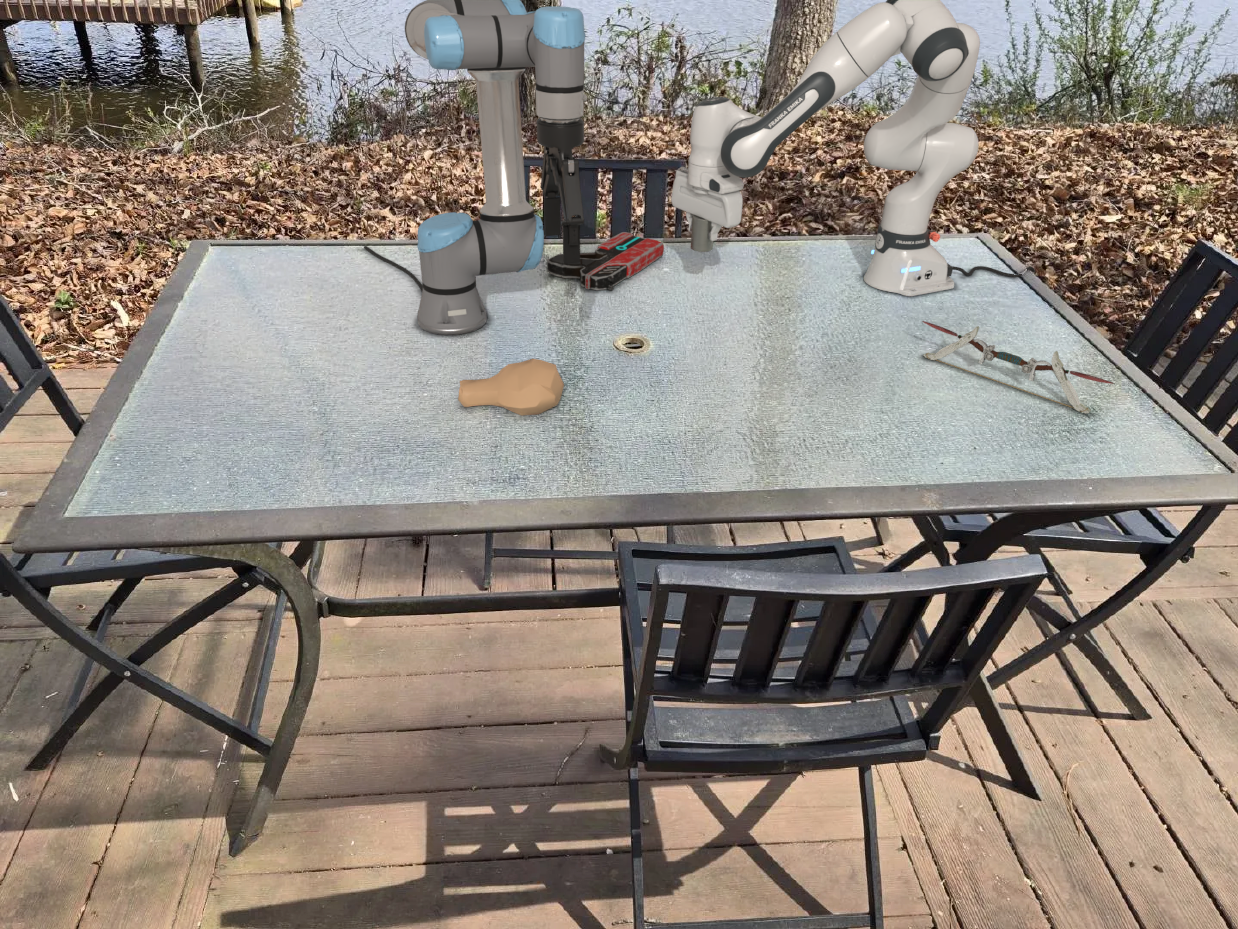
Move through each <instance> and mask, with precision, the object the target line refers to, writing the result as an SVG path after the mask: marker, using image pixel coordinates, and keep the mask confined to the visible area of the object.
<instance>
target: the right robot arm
mask: <svg viewBox="0 0 1238 929" xmlns="http://www.w3.org/2000/svg"><path fill="white" fill-rule="evenodd" d="M980 47H981V40H980V36H979V33H978V32H977V30H976V29H975V28H974V27H972V26H971V25H969V24H967V23H962V22H957V21H956V19H955V17H954V15H953V14H952V12H951V10H949V8H947V6H946V5H945V4H944V3H943V1H942V0H886V1H883V2H878V3H875V4H874V5H872V6H870V7H868V8H867V9H865V10H864V11H862V12H860V13H859V14H857V15H856V16H855V17H853V18H852V19H851V20H849V21H848V22H846V23H845V24H844V25H843V26H841V27H840V29H838V30H837V31H835V33H833V34H832V35H831V36H830V37H829V38H828V39H827V40H825V42H824V43H823V44H822V45H821V46H820V47H819V48H818V50H817V51H816V52H815V53H814V55H813V56H812V58H811V59H810V60H809V62H808V64H807V66H806V68H805V70H804V72H803V73H802V75H801V77H800V79H799V80H798V82H797V83H796V85H795V86H794V88H793V89H791V91H789V93H788V94H787V95H786V96H785V97H784V98H782V99H781V100H780V101H779V102H778V103H777V104H775V106H774V107H773V108H771V109H770V110H769V111H768V112H766V114H764V115H763V116H760V115H756V114H754V113H751V112H748V111H747V110H744V109H743V108H741V107H740V106H739V105H736V104H735V103H734V102H733V101H732V100H731V99H730V98H728V97H725V96H723V97H722V96H714V97H708V98H706V99H703V100H701V101H700V102H699V103H698V104H696V106H695V107H694V109H693V113H692V118H691V126H690V133H689V134H690V135H689V143H690V154H689V157H688V167H685V166H680V167H679V168H678V169H677V170H676V171H675V178H674V181H673V184H672V189H671V197H670V202H671V205H672V207H673V208H675V209H679V210H681V211H684V212H686V213H685V218H686V221H687V223H688V232H689V233H692V219H693V215H696V216H698V217H701V218H703V219H706V220H708V221H711V222H712V226H713V229H712V230H711V232H708V239H709V240H711V241H713V242H714V241H717V240H718V238H719V237H718V235H719V232H720V231H721V229H722V228H726V229H731V228H734V227H738V226H739V225H740V223H741V221H742V215H743V195H742V192H741V191H742V190H743V189H744V184H745V183H744V180H743V179H746V178H753V177H755V176H756V175H759V174H760V173H762V171H763V170H764V169H765V168H766V166H767V165H768V163H769V161H770V159H771V156H772V155H773V154H774V151H775V150H776V149H777V147H778V146H780V144H781V143H783V141H785V140H786V139H787V138H788V137H789V136H791V135H792V134H793V133H794V132H795V131H796V130H798V129H799V128H800V127H801V126H802V125H803V124H804V123H805V122H807V121H808V120H809V119H810V118H811V117H812V116H814V115H815V114H817V113H818V112H820V111H821V110H823V109H824V108H825V107H827V106H829V105H830V104H832V103H834V102H836V101H838V100H839V99H840V98H842V97H844V96H846V94H848V93H850V92H851V91H853V90H854V89H856V88H857V87H859V86H860V85H862V83H864V82H865V81H866V80H867V79H869V78H870V77H871V76H872V75H874V74H875V73H876V72H877V71H879V69H880V68H882V67H883V65H885V64H886V63H887V62H888V61H889V60H890V59H891V58H892V57H895V56H898V55H900V54H901V55H902V56H903V57H904V59H905V60H906V61H907V63H908V64H910V66H912V70H913V72H914V73H915V74H916V75H917V76H916V79H915V82H914V85H913V88H912V90H911V92H910V95H909V97H908V98H907V100H906V102H905V103H903V105H902V106H901V107H899V109H898V110H896V111H895V112H894V113H893V114H891V115H890V116H888V117H886V118H885V119H882V120H880V121H878V122H876V123H874V124H873V125H872V126H871V127H870V128H869V130H868V131H867V133H866V135H865V137H864V141H863V154H864V157H865V159H866V161H867V162H868V164H869V165H870V166H872V167H873V166H874V167H877V168H880V169H885V170H888V171H905V172H915V174H914V175H913V177H912V178H911V179H909V180H908V181H906V182H904V183H901V184H898V185H896V186H895V187H893V188H892V189H891V190H890V191H889V192H888V193H887V195H886V196H885V200H884V205H883V209H882V215H881V221H880V223H879V224H878V227H877V231H876V235H875V242H874V249H872V250H871V252H870V254H871V255H872V257H871V260H870V263H869V265H868V267H867V270H866V271H865V274H864V275H863V278H862V279H863V282H865V283H866V285H868V286H870V287H872V288H874V289H878V290H880V291H884V292H890V293H895V294H899V295H902V296H904V297H915V296H921V295H927V294H931V293H937V292H942V291H947V290H948V291H949V290H953V289H954V288H955V281H954V280H953V279H952V275H953V271H957V272H961V273H962V275H964V276H965V277H971V276H972V275H973V274H974V272H975V271H977V270H979V271H980V270H982V271H988V272H991V273H994V274H997V275H1000V276H1004V277H1008V278H1018V277H1022V276H1023V275H1022V274H1019V275H1014V274H1015V273H1009V272H1004V271H1002V270H998V269H996V268H993V267H989V266H984V265H983V266H982V265H977V266H974V267H972V268H971V269H970V271H968V272H967V271H966V270H965V269H964V268H963V267H959V266H952V264H949V263H948V262H947V259H946V258H945V257H944V256H943V255H942V254H941V253H940V252H939V251H938V250H937V249H936V248H935V247H934V246H933V245H932V244H931V241H933V243H937V242H939V241H940V239H941V234H939V233H937V232H936V231H932V230H930V229H929V228H928V226H929V222H930V218H931V215H932V211H933V208H934V205H935V202H936V200H937V199H938V196H939V194H940V193H941V191H942V190H943V188H944V187H945V186H946V185H947V184H948V183H949V182H950V181H951V180H952V179H953V178H955V176H957V175H959V174H960V173H962V172H965V170H967V169H968V168H969V167H970V166H971V165H972V164H973V162H974V161H975V160H976V158H977V155H978V152H979V138H978V135H977V133H976V131H975V130H974V129H973V128H972V127H969V126H967V125H963V124H959V123H955V122H950V121H952V120H953V119H954V118H955V117H956V116H957V115H958V114H959V112H960V111H961V109H962V106H963V103H964V101H965V99H966V96H967V94H968V91H969V88H970V86H971V83H972V81H973V77H974V73H975V71H976V68H977V63H978V60H979V54H980ZM742 178H743V179H742ZM1025 269H1027V270H1029V271H1031V273H1036V270H1035V268H1034V267H1033V266H1027V267H1026V268H1025Z"/></svg>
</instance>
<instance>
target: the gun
mask: <svg viewBox="0 0 1238 929" xmlns="http://www.w3.org/2000/svg"><path fill="white" fill-rule="evenodd" d="M596 248H597V249H595V250H594V252H593V251H591V252H589V251H588V252H580V262H579V263H567V264H564V263H563V252H560V253H557V254H556V255H554V256H552V257H550V258H547V259H546V272H547V273H548V274H549V275H553V276H556V277H559V278H562V279H579V284H580V286H581V287H583V288H585V290H594V291H603V290H607V291H611V292H612V291H614V287H615V285H618V284H619V283H620V282H622V281H623V280H625V279H629V278H631V277H633V276H634V275H636V274H638V273H639V272H641V271H643V270H644V269H645V268H647V267H648V266H649V265H651V264H653V263H654V262H656V261H657V260H659V259H660V258H661V257H662V256H663V255H664V252H665V244H664V242H663V241H661V240H657V239H654V238H649V237H646V238H645V237H641V236H636V235H634V233H631V232H627V231H622V232H620V233H618V234H616V235H614V236H612V237H610V238H609V239H607V240H605V241H603V242H601V243H600V244H598V246H597V247H596Z"/></svg>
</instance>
